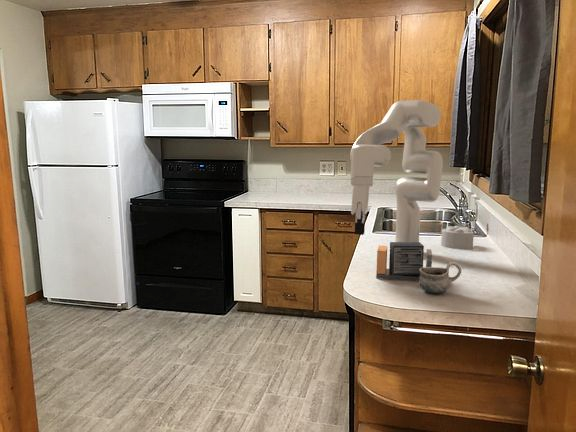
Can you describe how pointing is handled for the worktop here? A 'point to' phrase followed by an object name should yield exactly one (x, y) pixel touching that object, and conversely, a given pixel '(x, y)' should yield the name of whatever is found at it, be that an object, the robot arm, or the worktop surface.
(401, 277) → the grey bent bar
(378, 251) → the vise slide jaw
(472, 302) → the worktop surface
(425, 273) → the mug
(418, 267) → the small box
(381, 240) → the worktop surface
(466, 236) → the beige piece
